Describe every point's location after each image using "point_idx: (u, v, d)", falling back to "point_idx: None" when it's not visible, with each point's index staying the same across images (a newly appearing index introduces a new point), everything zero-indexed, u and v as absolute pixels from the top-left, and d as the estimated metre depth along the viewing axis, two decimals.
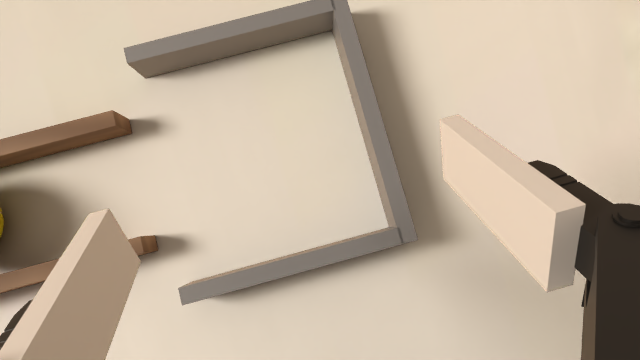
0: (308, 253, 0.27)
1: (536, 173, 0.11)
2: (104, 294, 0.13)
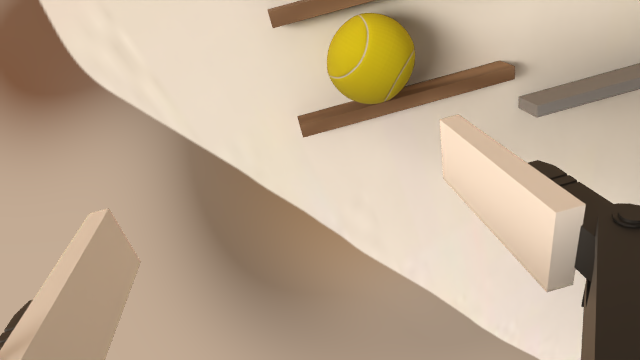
0: (632, 80, 0.37)
1: (536, 173, 0.11)
2: (104, 294, 0.13)
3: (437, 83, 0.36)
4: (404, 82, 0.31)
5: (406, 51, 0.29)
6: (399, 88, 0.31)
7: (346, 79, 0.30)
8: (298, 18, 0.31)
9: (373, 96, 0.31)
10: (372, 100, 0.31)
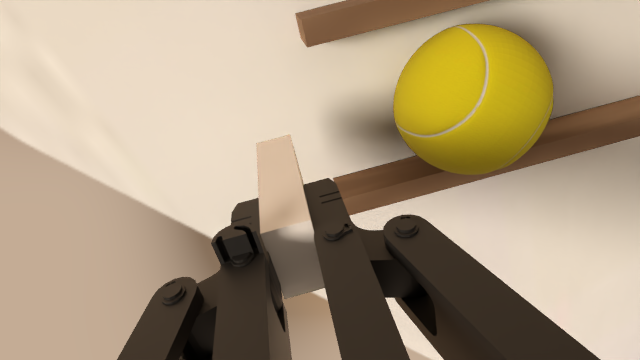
0: None
1: (300, 191, 0.13)
2: None
3: (553, 132, 0.23)
4: None
5: (549, 94, 0.16)
6: (523, 154, 0.18)
7: (438, 141, 0.17)
8: (352, 31, 0.17)
9: (480, 168, 0.18)
10: (475, 172, 0.18)
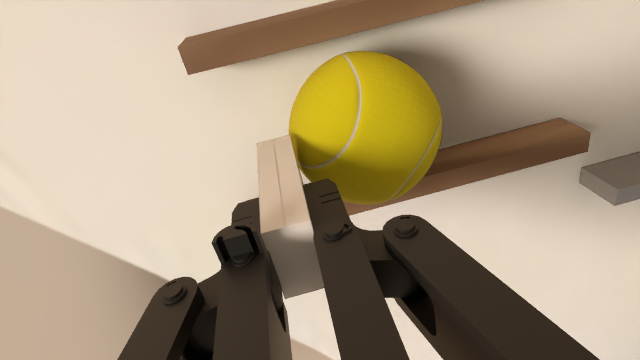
0: None
1: (299, 191, 0.13)
2: None
3: (467, 156, 0.23)
4: (423, 175, 0.17)
5: (430, 127, 0.16)
6: (414, 185, 0.17)
7: (320, 173, 0.16)
8: (234, 59, 0.17)
9: (368, 200, 0.17)
10: (366, 203, 0.18)
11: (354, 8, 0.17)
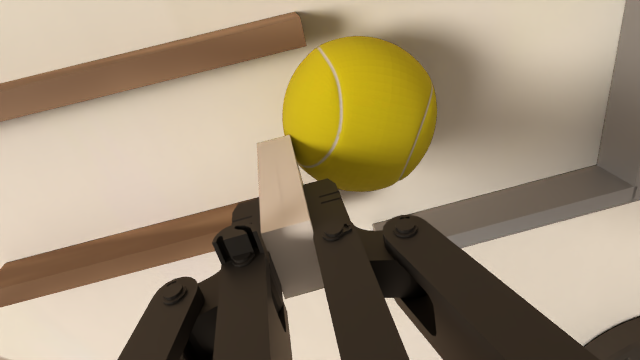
0: (533, 214, 0.24)
1: (299, 191, 0.13)
2: None
3: (221, 220, 0.22)
4: (426, 149, 0.17)
5: (419, 100, 0.15)
6: (418, 161, 0.17)
7: (320, 171, 0.16)
8: None
9: (375, 186, 0.17)
10: (374, 189, 0.18)
11: (19, 91, 0.16)
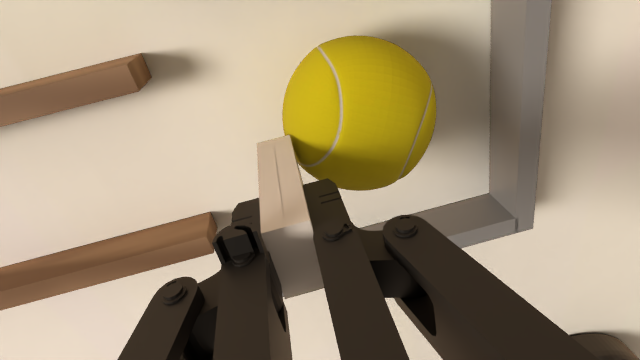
0: None
1: (299, 191, 0.13)
2: None
3: (91, 257, 0.22)
4: (425, 147, 0.17)
5: (418, 99, 0.15)
6: (418, 160, 0.17)
7: (320, 169, 0.17)
8: None
9: (375, 185, 0.17)
10: (374, 188, 0.18)
11: None
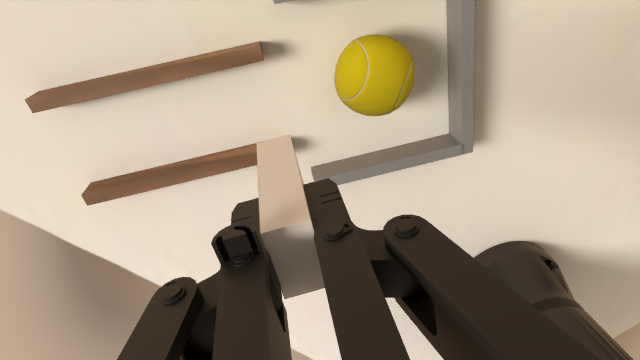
0: (402, 159, 0.40)
1: (300, 191, 0.13)
2: None
3: (218, 158, 0.39)
4: (408, 92, 0.34)
5: (404, 65, 0.32)
6: (404, 98, 0.34)
7: (355, 100, 0.33)
8: (57, 105, 0.33)
9: (382, 110, 0.34)
10: (381, 113, 0.34)
11: (118, 81, 0.33)
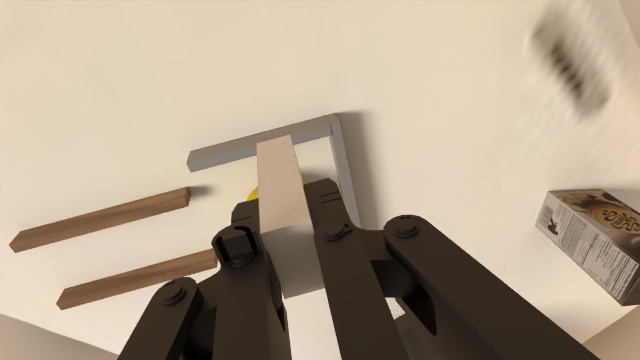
0: None
1: (300, 191, 0.13)
2: None
3: (162, 269, 0.49)
4: None
5: None
6: None
7: None
8: (33, 246, 0.44)
9: None
10: None
11: (78, 228, 0.44)
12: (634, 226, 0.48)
